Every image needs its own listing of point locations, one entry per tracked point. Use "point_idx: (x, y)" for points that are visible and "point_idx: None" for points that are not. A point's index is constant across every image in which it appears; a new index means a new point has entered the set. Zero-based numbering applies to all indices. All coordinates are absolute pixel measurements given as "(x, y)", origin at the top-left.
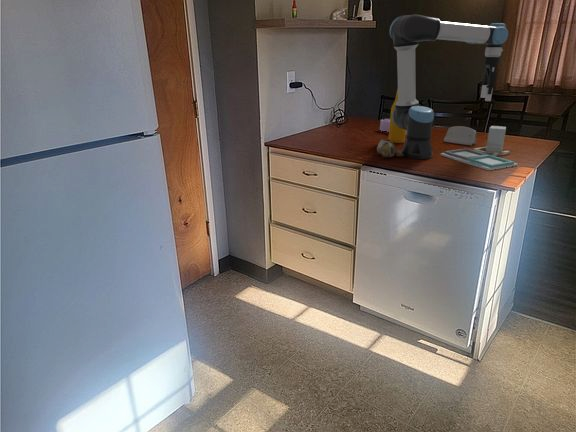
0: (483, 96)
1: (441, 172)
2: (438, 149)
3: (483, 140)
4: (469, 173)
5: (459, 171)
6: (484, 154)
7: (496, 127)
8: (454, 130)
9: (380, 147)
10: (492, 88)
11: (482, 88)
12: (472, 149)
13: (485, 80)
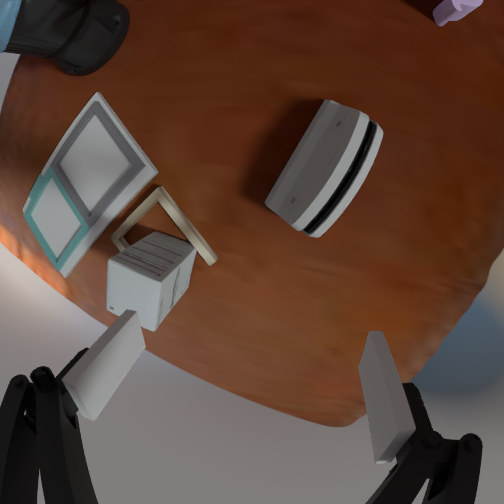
0: (365, 358)
1: (6, 121)
2: (171, 76)
3: (366, 268)
4: (8, 170)
5: (12, 152)
6: (87, 215)
7: (123, 290)
8: (340, 135)
9: None
10: (83, 410)
11: (388, 402)
12: (156, 189)
13: (369, 502)
